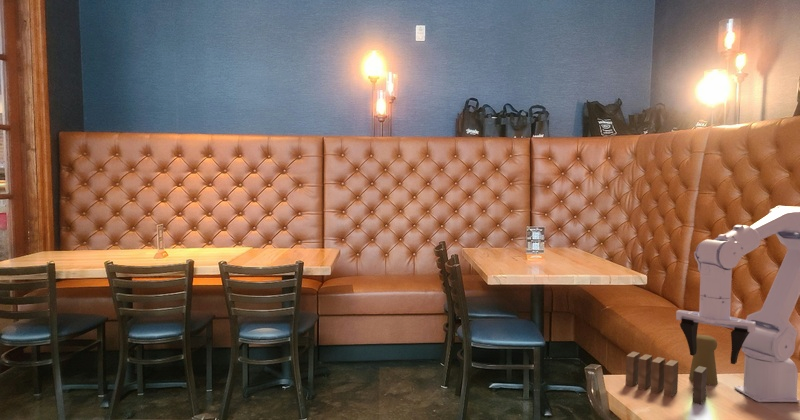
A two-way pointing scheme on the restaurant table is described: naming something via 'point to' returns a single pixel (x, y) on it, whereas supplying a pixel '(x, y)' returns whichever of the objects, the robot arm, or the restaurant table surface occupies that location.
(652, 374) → the tile
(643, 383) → the tile
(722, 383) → the restaurant table surface
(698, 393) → the tile
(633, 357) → the tile
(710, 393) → the restaurant table surface
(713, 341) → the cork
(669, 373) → the tile
